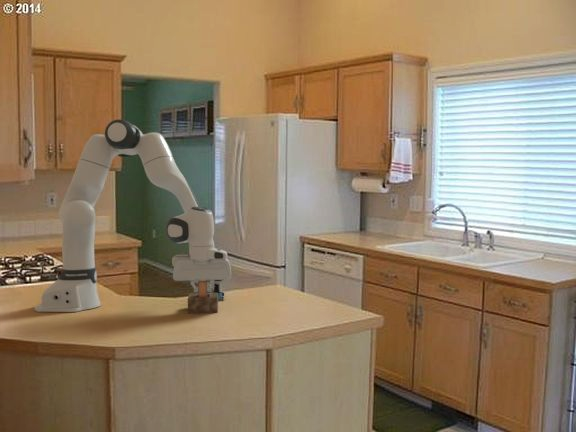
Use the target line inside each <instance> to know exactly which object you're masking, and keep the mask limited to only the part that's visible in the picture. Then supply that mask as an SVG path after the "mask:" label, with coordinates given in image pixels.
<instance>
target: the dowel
mask: <svg viewBox="0 0 576 432" xmlns="http://www.w3.org/2000/svg"><path fill="white" fill-rule="evenodd" d="M197 287H198V297H207V287H208V280H197Z"/></svg>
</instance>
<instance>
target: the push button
mask: <svg viewBox="0 0 576 432" xmlns="http://www.w3.org/2000/svg"><path fill="white" fill-rule="evenodd" d="M222 281H223V280H214V284H213V286H212V291H211V293H218V301H222V300H223V301H224V300H226V297H227V296H226V295H225V292H223V291H222V290H223V289H222V288H223V287H222V286H223V285H222V284H223V283H222Z"/></svg>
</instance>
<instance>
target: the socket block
mask: <svg viewBox="0 0 576 432" xmlns="http://www.w3.org/2000/svg"><path fill="white" fill-rule="evenodd" d="M218 309H219V300H218V293H212V292H211V293H207V297H198V293H194V292H193V293H189V294H188V297H187V314H188V313H189V314H209V313H210V314H212V313H213V314H214V313H215V314H216V313H218Z"/></svg>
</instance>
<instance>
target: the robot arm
mask: <svg viewBox="0 0 576 432" xmlns="http://www.w3.org/2000/svg"><path fill="white" fill-rule="evenodd" d="M116 156H118V157H120V158H121V157H123V158H124V157H129V158H130V157H132V158H133V157H138V156H139V158H140V161H141V163H142V166H143V169H144V172H145V174H146V175H145V176H146V177H147V179H148V180H149V181H150V183H151V184H153V185H155V186H156V187H158V188H161V189H163V190H167V191H168V192H170V193H172V194H173V195H174V196H175V197H176V199H177V200H178V201H179V204H180V206H181V208H182V210H183V213H182V214H180V215H177V216H174V217H171V218H169V220H168V221H167V223H166V225H165V235H166V237H167V239H168V240H169V241H170V242H172V243H174V244H184V243H186V244H187V243H188V249H189V250H188V253H176V255H173V256H172V258H171V264H172V267H173V272H172V278H173V280H174V281H175V282H184V281H189V282H190V285H191V287H192V288H193V293H198V286H196V284H195V283H196V281H210V282H209V283H210V285H209V287H208V286H207V293H212V289H213V284H214V280H222V281H224V280H225V281H227V280H230V279H231V278H232V269H231V262H230V260H229V259H228V252H227V251H226V250H225V249H219V248H216V246H215V241H214V235H215V220H214V219H215V218H214V214H213V212H212V210H211V209H210V208H208V207H205V206H200V204H199V201H198V199H197V198H196V196H195V193H194V191H193V189H192V187H191V185H190V183H189V181H188V180H187V178H186V177H185V175H183V173H182V172H181V170H180V169H179V167H178V165H177V164H176V161H175V159H174V156H173V153H172V151H171V148H170V146H169V144H168V143H167V141H166V139H165V137H164V136H163V135H162V134H161V133H160V132H156V131H155V132H148V133H144V132H143V131H141V130H140V129H139V128H138V127H137V126H136V125H134V124H133V123H131V122H130V121H128V120H125V119H121V118H120V119H114V120H112V121H110V122H109V123H108V124H107V125H106V127H105V130H104V134H101V133H100V134H99V133H95V134H93V135H91V136H90V137H89V138H88V140H87V141H86V143H85V146H84V147H83V149H82V151H81V154H80V157H79V159H78V161H77V164H76V165H77V166H76V168H75V171H74V173H73V176H72V179H71V181H70V184H69V186H68V188H67V191H66V193H65V196H64V197H63V200H62V203H61V205H60V208H59V210H58V211H59V212H58V217H59V220H60V222H61V223H62V243H61V250H62V251H61V254H62V255H61V256H62V267H61V268H59V270H57V272H56V276H57V280H56V281H55V282H53V283H51V285H49V286H48V287H47V288H46V289H44V290H43V293H42V295H41V301H40V303H38V304H37V305H35V306H34V311H35V312H38V313H39V312H45V313H48V312H51V313H59V312H60V313H64V312H65V313H76V312H77V313H78V312H81V311H85V310H90V309H91V310H92V309H94V308H97V307H98V308H99V307H100V306H101V305H102V304H101V301H100V300H101V299H100V297H99V293H98V287H97V280H98V274H97V273H98V272H97V267H96V263H95V258H96V257H95V239H96V237H95V236H96V210H95V205H96V204H97V201H98V199H99V197H100V195H101V193H102V192H103V189H104V186H105V183H106V181H107V179H108V175H109V172H110V169H111V166H112V163H113V160H114V159H115V157H116Z"/></svg>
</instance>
